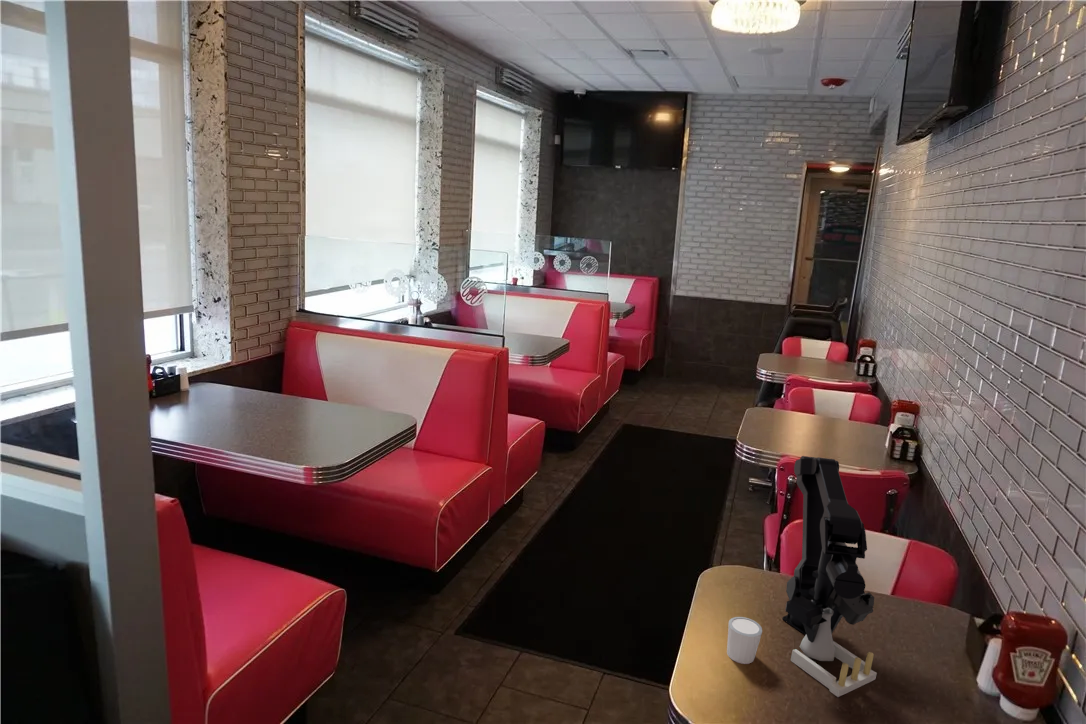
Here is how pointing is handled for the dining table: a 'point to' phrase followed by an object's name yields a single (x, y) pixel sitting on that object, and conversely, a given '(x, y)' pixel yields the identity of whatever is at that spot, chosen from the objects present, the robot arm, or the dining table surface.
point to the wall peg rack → (845, 684)
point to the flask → (821, 641)
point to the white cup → (743, 639)
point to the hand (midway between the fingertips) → (819, 637)
